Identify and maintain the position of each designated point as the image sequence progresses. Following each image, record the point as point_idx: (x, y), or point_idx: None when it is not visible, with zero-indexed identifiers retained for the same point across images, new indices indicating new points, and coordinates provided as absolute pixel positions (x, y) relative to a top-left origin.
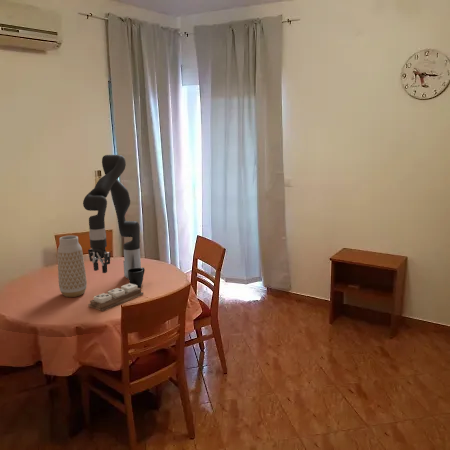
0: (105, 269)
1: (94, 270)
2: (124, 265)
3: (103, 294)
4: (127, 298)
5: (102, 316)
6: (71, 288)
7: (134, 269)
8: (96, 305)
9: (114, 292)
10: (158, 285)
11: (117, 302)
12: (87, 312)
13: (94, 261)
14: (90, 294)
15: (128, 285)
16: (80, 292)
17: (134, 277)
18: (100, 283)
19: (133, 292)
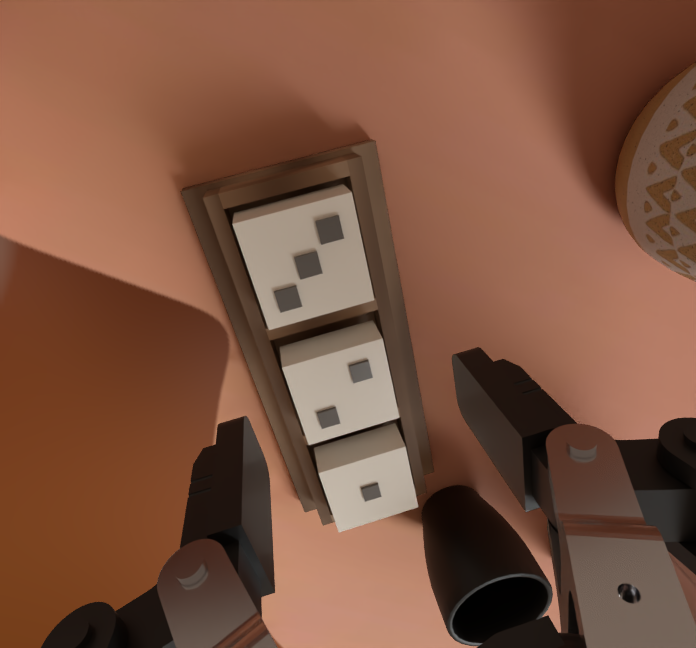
0: (196, 501)
1: (470, 350)
2: (685, 568)
3: (338, 286)
4: (278, 413)
5: (68, 136)
6: (690, 105)
7: (534, 605)
8: (272, 175)
9: (318, 372)
10: (373, 591)
11: (252, 336)
12: (244, 68)
13: (553, 486)
14: (569, 251)
15: (376, 490)
16: (620, 184)
17: (447, 561)
18: (671, 372)
19: (304, 473)
